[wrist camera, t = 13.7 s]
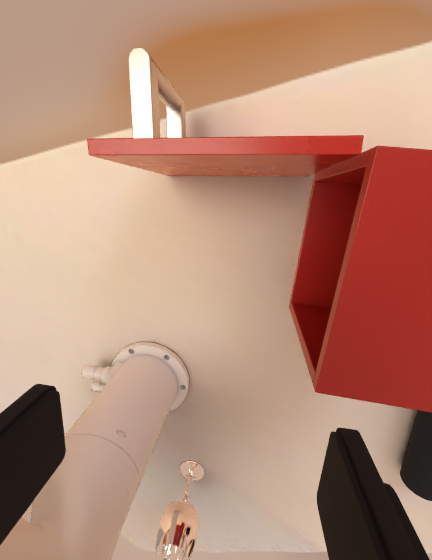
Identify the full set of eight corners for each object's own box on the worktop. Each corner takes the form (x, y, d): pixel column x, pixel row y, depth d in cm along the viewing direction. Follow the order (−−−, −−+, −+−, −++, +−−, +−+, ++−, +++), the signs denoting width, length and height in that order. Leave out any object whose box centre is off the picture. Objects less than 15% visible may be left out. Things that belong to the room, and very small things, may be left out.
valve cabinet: (288, 307, 37) (315, 392, 20) (315, 172, 31) (377, 145, 15) (382, 320, 35) (488, 422, 19) (425, 182, 30) (618, 164, 14)
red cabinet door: (164, 108, 32) (73, 18, 16) (315, 104, 29) (386, -5, 14) (167, 175, 34) (88, 155, 18) (308, 176, 32) (361, 154, 16)
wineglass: (176, 455, 47) (151, 536, 36) (209, 461, 46) (194, 546, 35) (175, 479, 49) (151, 564, 37) (207, 485, 48) (191, 574, 37)
